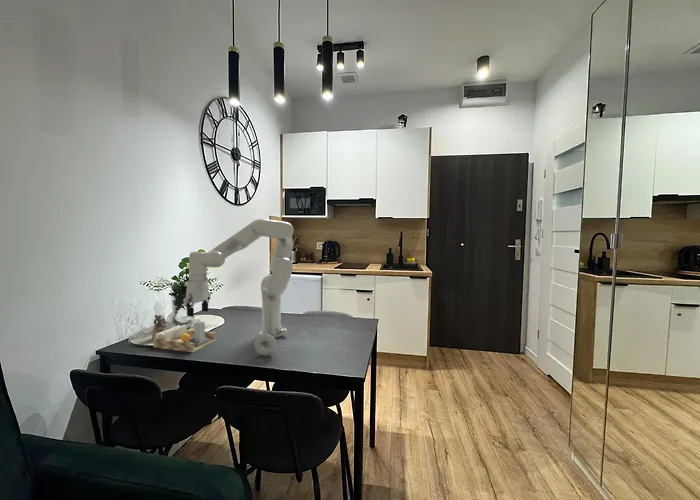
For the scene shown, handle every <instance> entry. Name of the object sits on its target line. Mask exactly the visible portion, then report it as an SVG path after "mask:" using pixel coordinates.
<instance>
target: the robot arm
mask: <svg viewBox="0 0 700 500" xmlns="http://www.w3.org/2000/svg"><path fill="white" fill-rule="evenodd" d="M293 236H294V226H293V225H292V224H291V223H289V222H287V221H279V220H273V219H266V218H259V219H258V218H257V219H255V220H253V221H252V222H250V223H249V224H248V225H245V227H243V228H241V229H240V230H239V231H237V232H236V233H234V234H232V236H230V237H229V238H228V239H226V240H225V241H223V242H221V243H219V244H218V245H217V246H214V248H212V249H211V250H210V251H209V252H205V251H191V252H190V253H189V256H188V257H189V260H188V262H189V265H188V267H189V268H188V269H189V270H188V275H189V277H188V282H187V285H186V291H185V297H184V298H183V303H184V304H183V305H184V306H185V308H186V316H187V317H192V318H193V317H194V315H195V314H194V313H195V312H194V310H195V308H194V306H195V304H198V303H201V302H202V303H201V312H206V313H207V312H209V303H210V300H211V296H212V293H211V292H210V291H209V284H208V280H207V278H208V277H207V276H208V268H221V267H222V266H223V265H224V264H225V262H226V259H228V257H230V256H231V255H233V254H234V253H236V252H240V251H242V250H244V249H246V248H248V247H249V246H250V245H252V244H253V243H255V242H256V241H257V240H259V239H261V237H267V238H273V239H274V238H275V239H276V248H275V250H274V252H273V255H272V258H271V260H270V263H269V269H270V270H271V274H269V275H266V276H264V277H263V278H262V280H261V282H260V291H261V324H262V326H261V330H260V331H259V333H258V336H259V335H261V334H270V335H272V336H273V337H274V338H275V339H276V338H279V337H282V336H283V335H284V334H287V333H288V328H287V327H286V328H284V327H283V325H281V323H282V321H281V318H282V317H281V315H282V314H281V313H282V311H281V304H282V303H281V302H282V301H281V296H282V295H283V294H284V293H285V291H286V289H287V286H288V285H289V282H290V278H291V276H292V272H293V266H294V265H293V263H292V261H291V259H290V258H291V256H292V252H293V250H294V249H293V248H294V240H293Z"/></svg>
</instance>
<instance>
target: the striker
mask: <svg viewBox="0 0 700 500" xmlns="http://www.w3.org/2000/svg"><path fill="white" fill-rule="evenodd" d="M205 322H206V321H200V320H199V321H196V322H194V323H193V327H194V328H193V330H194V337H192V338H190V339H189V342H190V343H194V346H200V345H202V344H204V343H206V342H208V341H210V339H208V338H205V331H206V329H205V326H206V325H205Z"/></svg>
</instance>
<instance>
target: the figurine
mask: <svg viewBox="0 0 700 500" xmlns="http://www.w3.org/2000/svg"><path fill="white" fill-rule="evenodd" d="M153 323H154V324H153V325H154V326H153V328H152V334H151V335H152V336H151V339H152V340H153V339H154V338H156V334H157V333H160V332H163V331H165V330H168V322H167V320H166V317H165V316H164V315H163V314H159V315H157V314H155V315H154V320H153Z"/></svg>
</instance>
